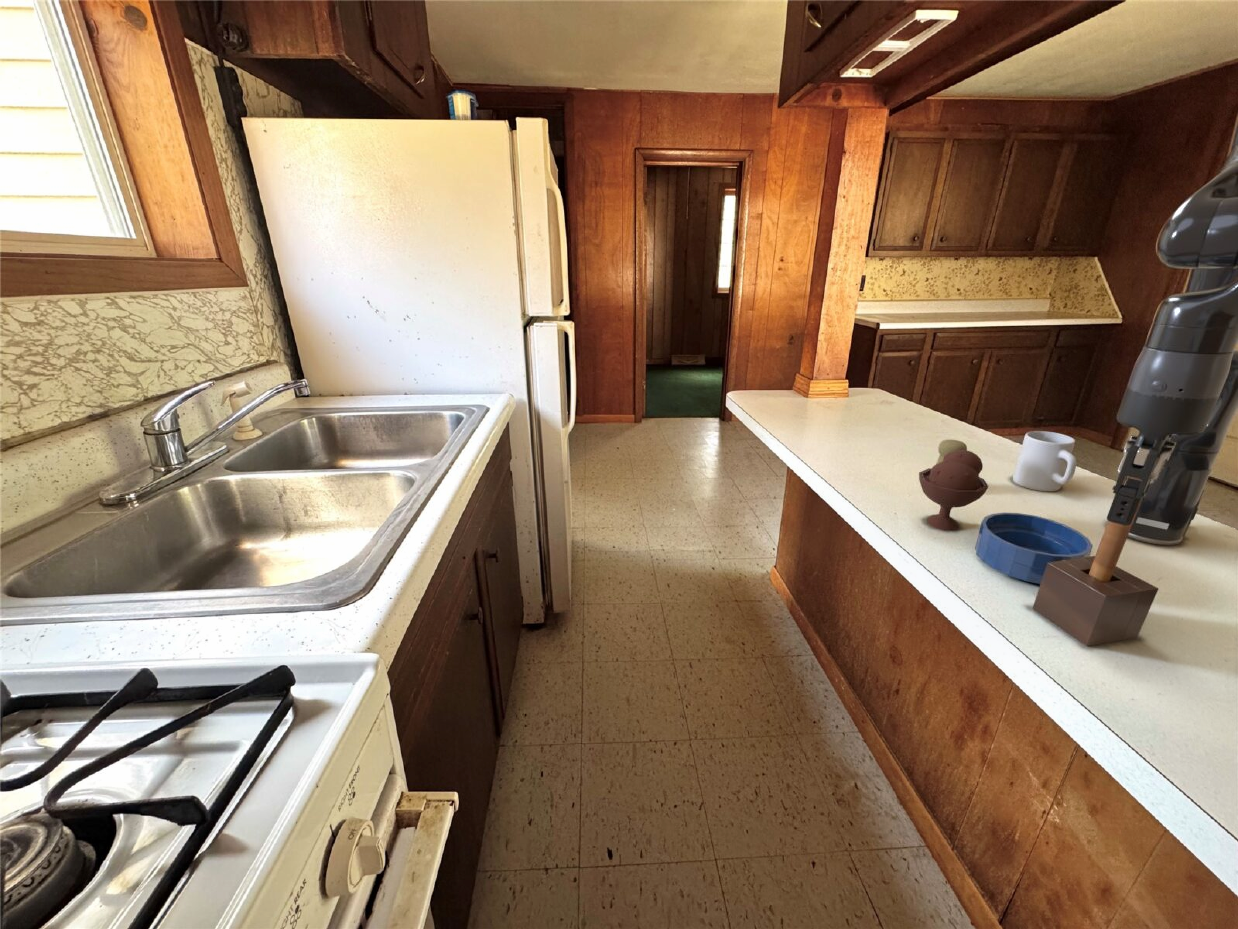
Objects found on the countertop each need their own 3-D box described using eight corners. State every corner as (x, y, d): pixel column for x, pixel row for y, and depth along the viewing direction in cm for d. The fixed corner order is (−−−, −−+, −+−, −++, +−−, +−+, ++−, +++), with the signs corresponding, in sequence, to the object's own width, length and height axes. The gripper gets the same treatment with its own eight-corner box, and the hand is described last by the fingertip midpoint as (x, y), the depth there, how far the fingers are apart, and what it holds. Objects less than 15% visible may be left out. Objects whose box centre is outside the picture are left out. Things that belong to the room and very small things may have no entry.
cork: (930, 491, 112) (940, 444, 108) (925, 480, 117) (935, 435, 113) (962, 495, 110) (974, 447, 105) (956, 484, 115) (967, 438, 111)
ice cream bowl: (915, 505, 106) (930, 437, 100) (980, 521, 99) (999, 448, 93) (903, 526, 98) (918, 454, 93) (972, 544, 92) (992, 467, 86)
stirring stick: (1080, 616, 73) (1128, 490, 66) (1096, 626, 71) (1147, 497, 64) (1067, 618, 73) (1114, 492, 65) (1083, 628, 71) (1132, 499, 63)
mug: (1003, 476, 118) (1015, 431, 113) (1040, 475, 117) (1054, 430, 113) (1043, 499, 106) (1058, 450, 102) (1084, 498, 106) (1101, 449, 102)
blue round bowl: (1024, 538, 93) (1032, 508, 91) (1104, 583, 80) (1117, 550, 78) (954, 547, 91) (961, 517, 89) (1025, 595, 78) (1036, 561, 76)
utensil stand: (1078, 601, 76) (1095, 555, 73) (1137, 637, 69) (1159, 588, 66) (1032, 608, 75) (1047, 562, 72) (1086, 646, 68) (1106, 596, 65)
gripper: (1214, 406, 52) (1156, 542, 58) (1225, 382, 61) (1174, 504, 67) (1116, 393, 58) (1073, 520, 64) (1138, 373, 66) (1098, 486, 72)
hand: (1124, 511), depth 65 cm, fingers open, 8 cm apart
